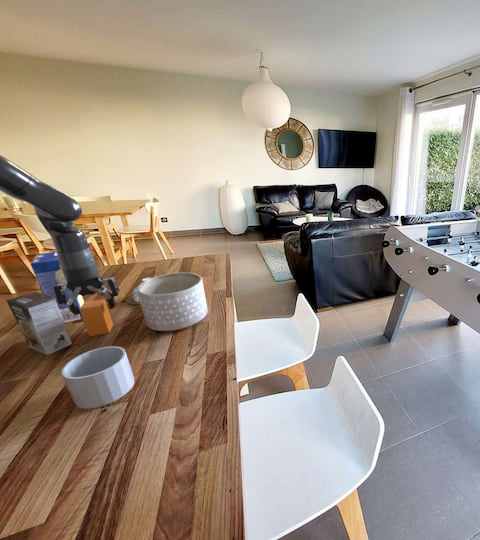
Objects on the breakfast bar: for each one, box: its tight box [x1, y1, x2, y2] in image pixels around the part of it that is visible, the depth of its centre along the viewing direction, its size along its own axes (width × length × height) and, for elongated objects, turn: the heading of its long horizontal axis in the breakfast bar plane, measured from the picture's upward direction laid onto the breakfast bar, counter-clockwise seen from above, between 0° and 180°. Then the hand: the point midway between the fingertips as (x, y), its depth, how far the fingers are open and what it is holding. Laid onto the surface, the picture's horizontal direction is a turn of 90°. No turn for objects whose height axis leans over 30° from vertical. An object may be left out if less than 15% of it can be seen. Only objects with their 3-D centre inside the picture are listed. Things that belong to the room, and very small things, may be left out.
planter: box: [136, 272, 209, 332], centre depth 99 cm, size 19×19×14 cm
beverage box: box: [30, 251, 85, 324], centre depth 98 cm, size 7×11×22 cm, turn 38°
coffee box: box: [5, 291, 73, 356], centre depth 83 cm, size 9×6×16 cm
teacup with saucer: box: [126, 277, 152, 307], centre depth 114 cm, size 12×12×8 cm
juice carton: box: [80, 298, 114, 337], centre depth 92 cm, size 5×5×10 cm
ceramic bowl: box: [61, 345, 136, 410], centre depth 70 cm, size 11×11×9 cm
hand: (95, 310), depth 91 cm, fingers open, 8 cm apart
